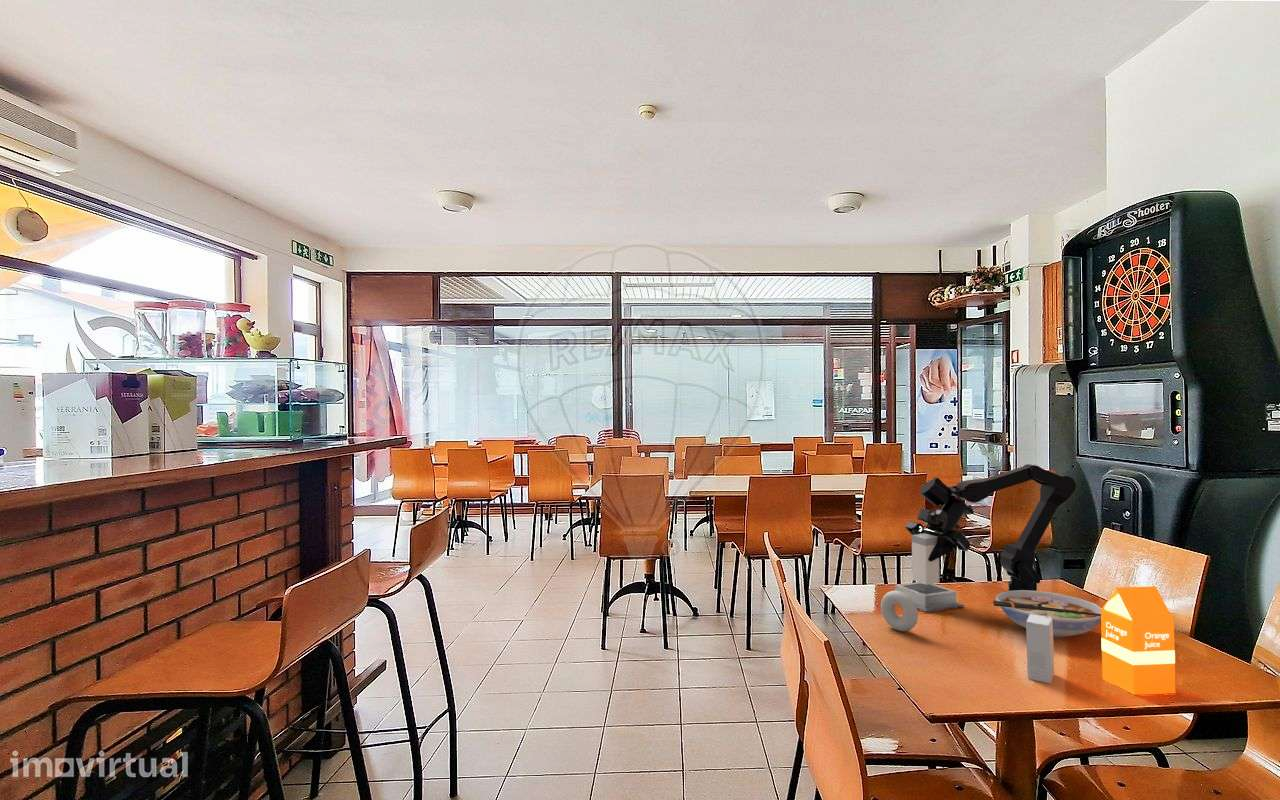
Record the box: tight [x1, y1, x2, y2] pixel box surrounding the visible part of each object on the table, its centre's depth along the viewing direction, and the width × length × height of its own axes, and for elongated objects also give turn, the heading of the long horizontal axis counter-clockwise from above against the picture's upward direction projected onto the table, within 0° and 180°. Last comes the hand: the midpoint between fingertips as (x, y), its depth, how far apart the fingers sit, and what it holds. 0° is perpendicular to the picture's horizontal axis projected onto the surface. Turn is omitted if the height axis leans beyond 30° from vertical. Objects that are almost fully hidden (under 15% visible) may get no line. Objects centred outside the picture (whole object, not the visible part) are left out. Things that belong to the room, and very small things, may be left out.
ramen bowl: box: [992, 590, 1103, 639], centre depth 153 cm, size 25×23×8 cm
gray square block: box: [911, 533, 940, 585], centre depth 176 cm, size 5×5×13 cm
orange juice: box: [1100, 585, 1176, 695], centre depth 124 cm, size 8×9×20 cm
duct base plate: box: [915, 601, 965, 613], centre depth 178 cm, size 14×14×1 cm
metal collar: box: [894, 581, 957, 609], centre depth 178 cm, size 11×11×4 cm
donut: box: [880, 590, 919, 632], centre depth 156 cm, size 10×3×10 cm, turn 32°
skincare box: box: [1025, 614, 1055, 685], centre depth 129 cm, size 6×4×12 cm
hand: (921, 558), depth 176 cm, fingers closed on gray square block, 5 cm apart
